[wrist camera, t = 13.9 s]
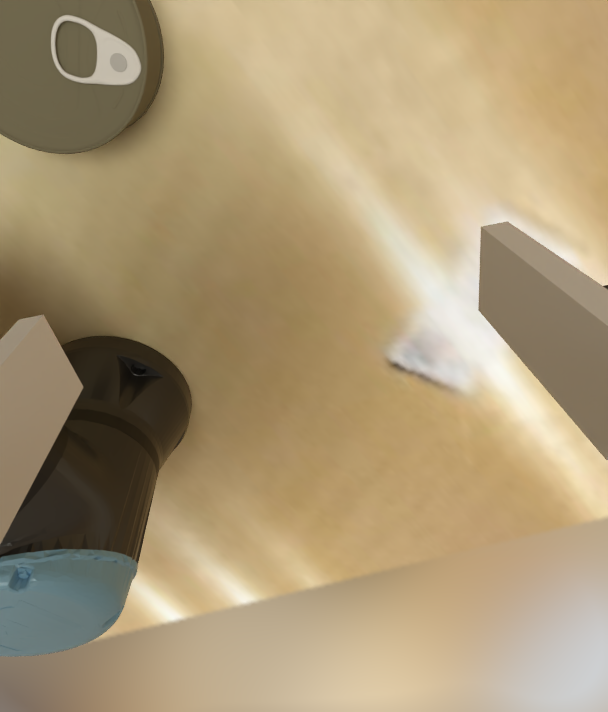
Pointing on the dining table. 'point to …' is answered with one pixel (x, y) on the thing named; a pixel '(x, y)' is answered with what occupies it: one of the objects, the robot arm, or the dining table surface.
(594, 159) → the dining table surface
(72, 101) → the can
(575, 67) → the dining table surface
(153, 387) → the robot arm
